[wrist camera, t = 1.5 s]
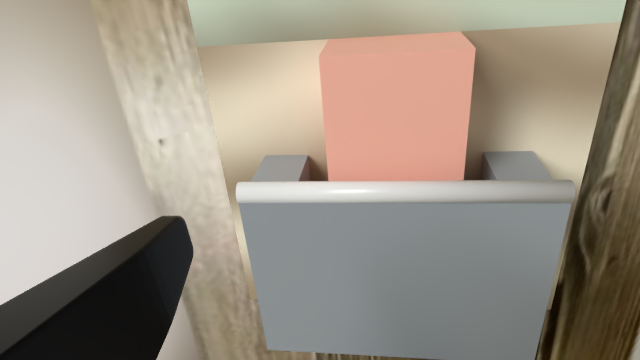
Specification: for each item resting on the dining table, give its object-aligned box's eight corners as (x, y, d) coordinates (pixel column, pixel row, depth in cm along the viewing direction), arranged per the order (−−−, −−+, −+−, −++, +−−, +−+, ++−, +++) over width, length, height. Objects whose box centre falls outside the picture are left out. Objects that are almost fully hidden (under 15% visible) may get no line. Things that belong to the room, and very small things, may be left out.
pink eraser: (444, 245, 21) (453, 288, 18) (342, 243, 21) (336, 285, 19) (460, 31, 16) (475, 47, 13) (328, 39, 17) (318, 56, 14)
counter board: (544, 295, 22) (550, 309, 22) (254, 286, 25) (250, 298, 24) (700, -383, 11) (726, -411, 10) (141, -278, 14) (124, -294, 13)
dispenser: (507, 293, 21) (534, 366, 18) (285, 286, 23) (267, 351, 20) (535, 135, 17) (577, 186, 14) (263, 141, 19) (234, 188, 15)
